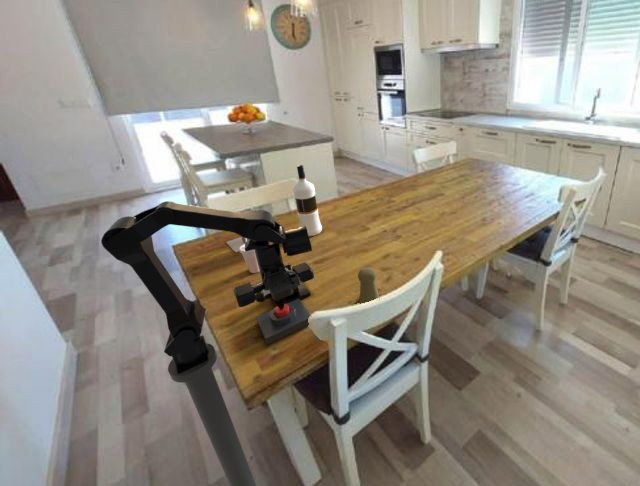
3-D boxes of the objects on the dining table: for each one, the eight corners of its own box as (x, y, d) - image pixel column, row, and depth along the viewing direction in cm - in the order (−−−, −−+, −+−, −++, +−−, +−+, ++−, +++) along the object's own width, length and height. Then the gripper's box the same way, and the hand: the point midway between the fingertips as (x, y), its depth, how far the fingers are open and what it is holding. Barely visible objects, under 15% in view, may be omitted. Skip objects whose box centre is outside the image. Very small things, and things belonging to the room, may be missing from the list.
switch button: (277, 319, 86) (276, 314, 85) (274, 312, 88) (272, 307, 87) (291, 313, 88) (290, 308, 87) (287, 306, 90) (286, 301, 90)
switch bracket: (277, 309, 94) (271, 282, 90) (270, 295, 100) (263, 269, 96) (310, 295, 100) (305, 269, 96) (301, 283, 106) (296, 257, 102)
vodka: (299, 238, 134) (286, 169, 122) (301, 228, 142) (289, 163, 130) (322, 235, 136) (311, 167, 124) (322, 226, 144) (312, 161, 132)
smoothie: (247, 266, 115) (238, 232, 110) (266, 263, 117) (258, 229, 111) (244, 276, 109) (234, 241, 104) (264, 273, 111) (255, 238, 106)
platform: (280, 235, 136) (278, 222, 134) (235, 252, 124) (231, 237, 122) (269, 227, 144) (266, 214, 141) (225, 242, 132) (221, 227, 130)
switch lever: (261, 306, 93) (253, 301, 91) (258, 300, 96) (251, 295, 94) (294, 276, 97) (287, 270, 95) (291, 271, 100) (284, 265, 98)
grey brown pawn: (360, 309, 94) (357, 278, 89) (358, 296, 99) (355, 266, 95) (380, 305, 95) (378, 274, 91) (377, 292, 101) (375, 263, 96)
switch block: (267, 344, 82) (264, 333, 81) (257, 322, 89) (254, 311, 88) (312, 323, 89) (310, 311, 87) (300, 304, 96) (298, 293, 95)
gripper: (235, 290, 70) (251, 343, 76) (317, 260, 81) (325, 309, 87) (226, 267, 78) (241, 317, 84) (302, 243, 89) (310, 288, 95)
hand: (281, 308), depth 87 cm, fingers closed, pressing on switch button
